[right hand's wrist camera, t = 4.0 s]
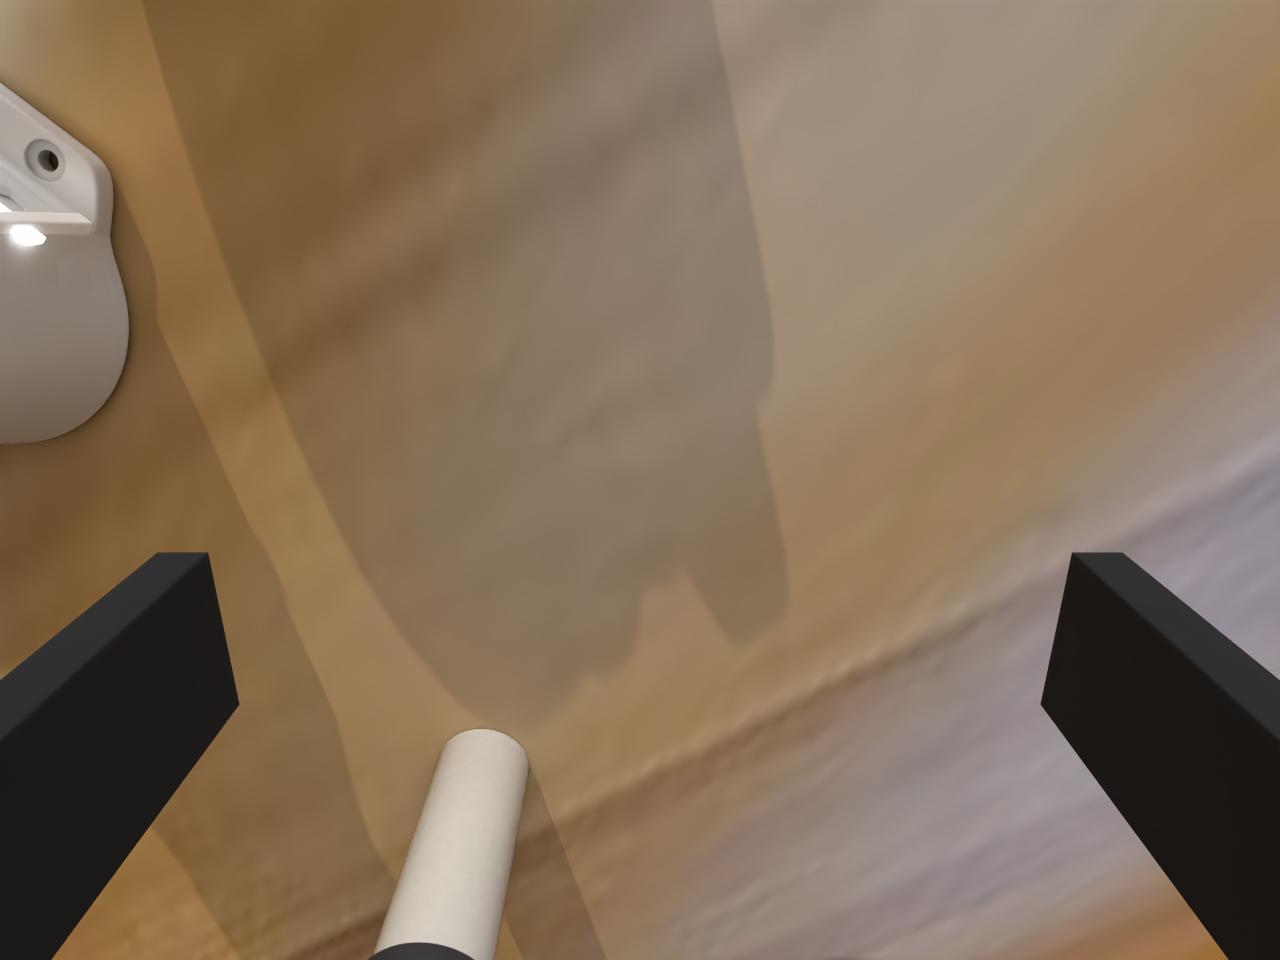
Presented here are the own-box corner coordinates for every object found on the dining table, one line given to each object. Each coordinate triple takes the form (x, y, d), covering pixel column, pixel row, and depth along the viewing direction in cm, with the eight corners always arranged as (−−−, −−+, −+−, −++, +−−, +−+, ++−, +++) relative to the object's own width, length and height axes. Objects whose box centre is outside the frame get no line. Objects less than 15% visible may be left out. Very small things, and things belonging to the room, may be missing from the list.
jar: (537, 738, 48) (491, 1001, 33) (519, 808, 50) (468, 1088, 35) (446, 720, 47) (357, 978, 32) (432, 791, 49) (341, 1067, 34)
